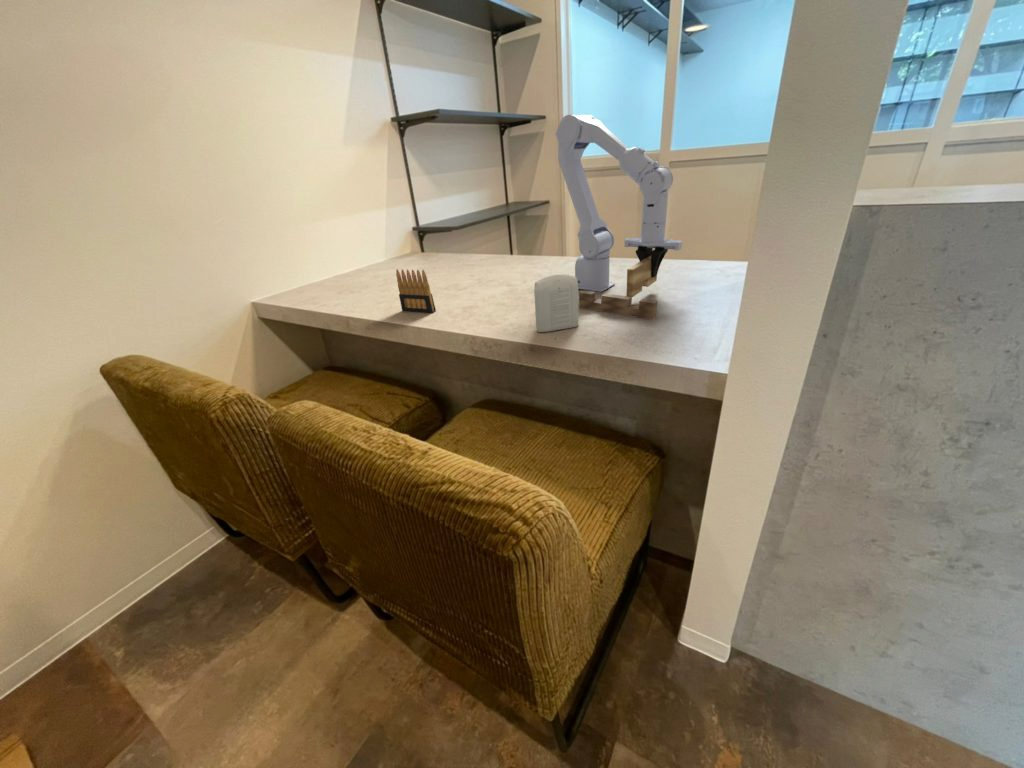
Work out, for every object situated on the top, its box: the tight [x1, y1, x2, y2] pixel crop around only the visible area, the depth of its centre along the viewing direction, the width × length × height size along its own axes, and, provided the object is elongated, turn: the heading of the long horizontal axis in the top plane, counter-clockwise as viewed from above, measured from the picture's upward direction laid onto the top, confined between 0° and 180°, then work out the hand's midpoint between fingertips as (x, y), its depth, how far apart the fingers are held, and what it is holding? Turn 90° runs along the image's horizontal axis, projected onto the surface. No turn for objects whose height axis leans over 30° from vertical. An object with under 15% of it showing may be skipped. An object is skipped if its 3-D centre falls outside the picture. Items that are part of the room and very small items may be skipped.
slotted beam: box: [578, 289, 659, 321], centre depth 102 cm, size 20×2×4 cm, turn 49°
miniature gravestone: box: [533, 274, 580, 333], centre depth 95 cm, size 10×4×12 cm, turn 103°
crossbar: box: [625, 255, 658, 298], centre depth 107 cm, size 2×14×7 cm, turn 139°
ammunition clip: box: [395, 269, 437, 314], centre depth 116 cm, size 11×2×12 cm, turn 65°
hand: (649, 275), depth 110 cm, fingers closed on crossbar, 2 cm apart
